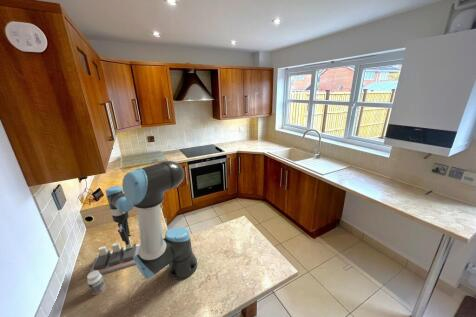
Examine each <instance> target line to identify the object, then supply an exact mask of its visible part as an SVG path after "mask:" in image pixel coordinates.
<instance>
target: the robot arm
mask: <svg viewBox="0 0 476 317" xmlns="http://www.w3.org/2000/svg"><path fill="white" fill-rule="evenodd" d="M184 179H185V169H184V168H183V166H182V165H181V164H180V163H178V162H176V161H172V160H164V161H160V162H157V163H154V164H150V165H147V166H145V167H140V168H136V169H134V170H131V171H128V172H127V173H126V174H124V176H123V178H122V186H121V185H114V186H110V187H108V188H106V190H105V195H106V199H107V202H108V205H109V210H110V214H111V216H112V220H113V222H114V223H116V224H117V227H118V229H117V233H118V234H119V236H120V238H121V241H122V242H124V245H125V246H124V247H126V249H128V248H132V244H131V241H130V239H131V236H132V234H130V226H129V220H128V218H129V216H130V215H129V212H131V211H132V210H133V208H135V209H136V214H137V221H138V228H139V237H140V243H141V246H140V247H139V250H138V254H137V255H136V256H135V257H134V261H135V264H136V265H135V266H136V267H137V269H138V271H139V272H140V273H141V275H142V276H143V277H144V278H145V279H150V278H152V277H153V276H155V275H157V274H158V273H159V272H161V270H163V269H164V268H166V266H168V268H167V270H168V275H169V277H171V279H173V280H184V279H186V278H189V277H190V276H192V275H193V274H194V273H195V271H196V270H197V269H198V259H197V256H196V255H195V254H194V252H193V247H192V241H191V235H190V231H189V230H188V228H186V227H184V226H176V227H175V226H174V227H172V228H170V229H168V230H166V232H165V234H164V238H163V226H162V208H161V204H162V203H163V202H164V200H165V193H166V192H169V191H171V190H172V189H175V188H176V187H178V186H179V185H181V183H182V182H183V181H184Z"/></svg>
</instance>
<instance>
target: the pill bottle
mask: <svg viewBox="0 0 476 317" xmlns="http://www.w3.org/2000/svg"><path fill="white" fill-rule="evenodd" d="M86 278H87V286H88V288H89V291H90V293H91V295H95V296H96V295H99V294H101V293H102V292H103V291H104V290H105V289H106V284H105V281H104V278H103V274H102V275H101V274H100V273H99V271H98V270H95V271H92V272H91V273H89V272H88V274H87V276H86Z"/></svg>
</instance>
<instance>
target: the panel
mask: <svg viewBox="0 0 476 317" xmlns="http://www.w3.org/2000/svg"><path fill="white" fill-rule="evenodd" d="M133 244H134V245H133V248H129V249H126V246H124V247H123V246H122V247H121V244H120V242H119V241H118V242H115V243H112V246H111V247H112V250H108V249H107V246H106V245H104V246H99V248H98V254H97V256H96V258H95V260H94V262H93V264H92V266H91V268H90V270H89V272H88V274H89V273H91V272H92V271H95V270H98V271H99V273H100V274H101V275H102V276H103V275H105V274H108V273H111V272H115V271H118V270H121V269H122V270H123V269H125V268H129V267H132V266H134V265H135V266H137V265H136V264H135V261H134V257H135V256H136V255H137V254H138V250H139V247H140V246H141V242H140V243H133Z"/></svg>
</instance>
